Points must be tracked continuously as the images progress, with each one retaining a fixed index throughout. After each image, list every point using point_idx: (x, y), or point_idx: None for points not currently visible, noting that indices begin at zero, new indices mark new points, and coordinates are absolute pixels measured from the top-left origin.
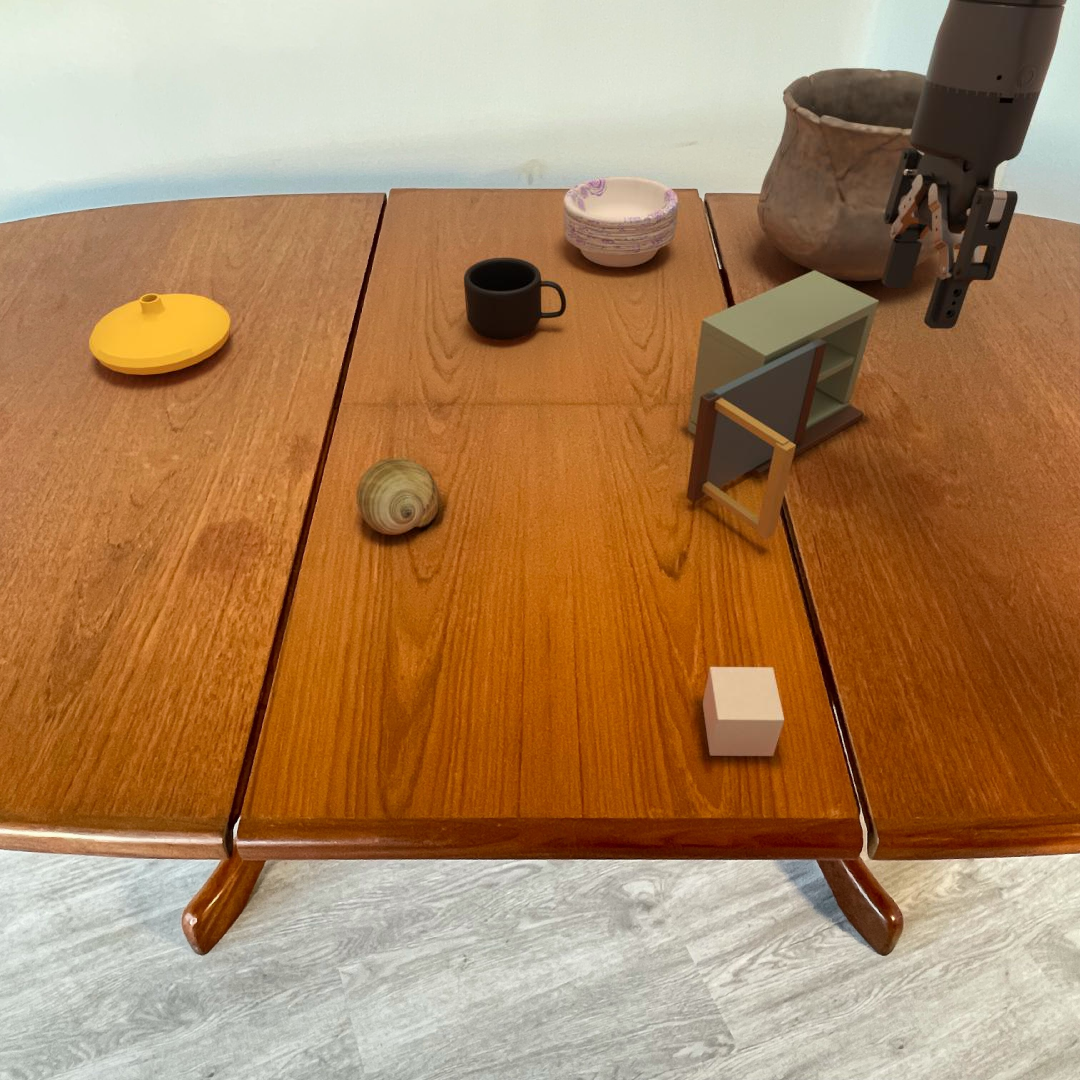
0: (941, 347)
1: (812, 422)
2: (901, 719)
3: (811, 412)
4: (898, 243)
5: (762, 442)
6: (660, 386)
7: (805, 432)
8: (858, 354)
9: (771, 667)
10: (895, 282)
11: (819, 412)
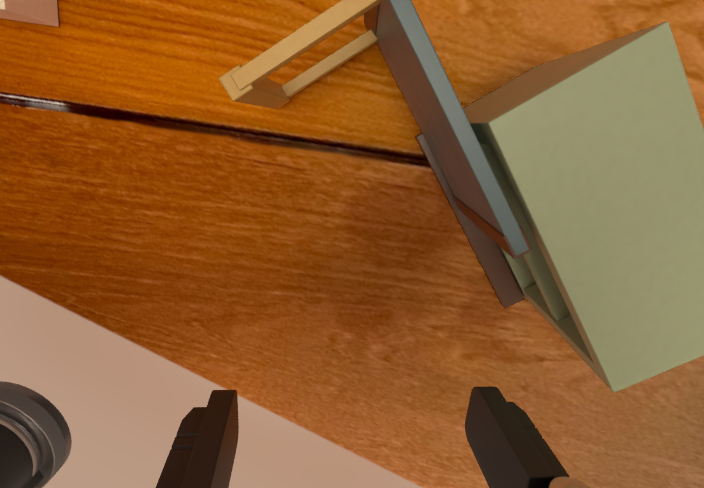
0: (616, 446)
1: None
2: (53, 165)
3: None
4: (527, 481)
5: (429, 136)
6: None
7: None
8: (558, 327)
9: (3, 6)
10: (474, 410)
11: None
